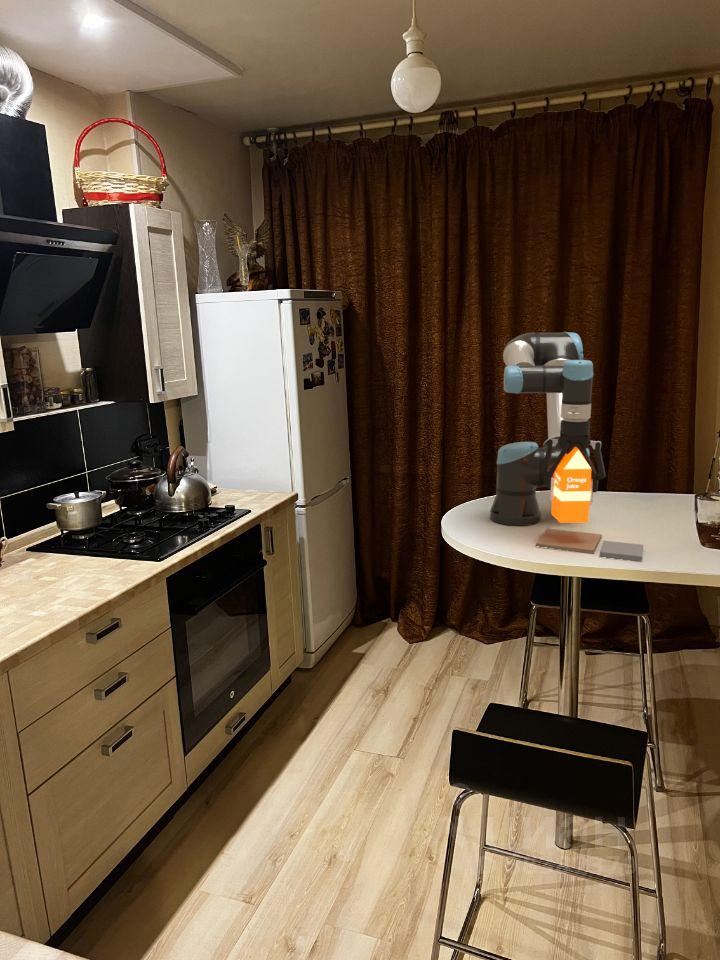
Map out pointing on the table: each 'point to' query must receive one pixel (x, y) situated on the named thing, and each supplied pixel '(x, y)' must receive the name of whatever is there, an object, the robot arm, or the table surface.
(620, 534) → the table surface
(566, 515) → the orange juice
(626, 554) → the tile
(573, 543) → the cork mat
